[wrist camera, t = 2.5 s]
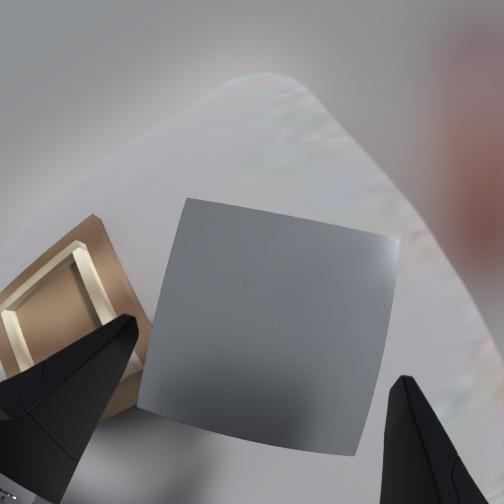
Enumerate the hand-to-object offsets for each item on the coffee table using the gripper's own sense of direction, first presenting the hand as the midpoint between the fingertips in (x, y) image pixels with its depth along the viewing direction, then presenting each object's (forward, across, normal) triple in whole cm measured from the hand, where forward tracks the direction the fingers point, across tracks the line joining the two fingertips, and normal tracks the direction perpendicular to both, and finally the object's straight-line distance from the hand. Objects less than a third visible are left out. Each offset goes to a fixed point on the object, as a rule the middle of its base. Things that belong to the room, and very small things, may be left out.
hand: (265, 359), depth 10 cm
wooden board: (+1, +18, +12) cm, 21 cm away
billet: (+7, 0, +6) cm, 9 cm away
